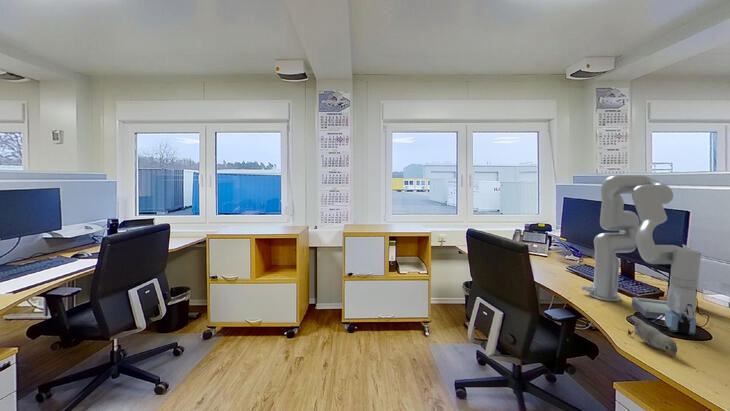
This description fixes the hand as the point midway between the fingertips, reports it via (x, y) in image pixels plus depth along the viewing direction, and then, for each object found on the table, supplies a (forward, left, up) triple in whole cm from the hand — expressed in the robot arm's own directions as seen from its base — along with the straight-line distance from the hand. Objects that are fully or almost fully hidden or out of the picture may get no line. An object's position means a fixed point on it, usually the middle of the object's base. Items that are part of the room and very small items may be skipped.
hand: (679, 328), depth 125 cm
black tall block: (+15, +35, -1) cm, 38 cm away
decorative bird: (-15, -17, -2) cm, 23 cm away
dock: (+1, +17, -1) cm, 17 cm away
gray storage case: (0, 0, -1) cm, 1 cm away
